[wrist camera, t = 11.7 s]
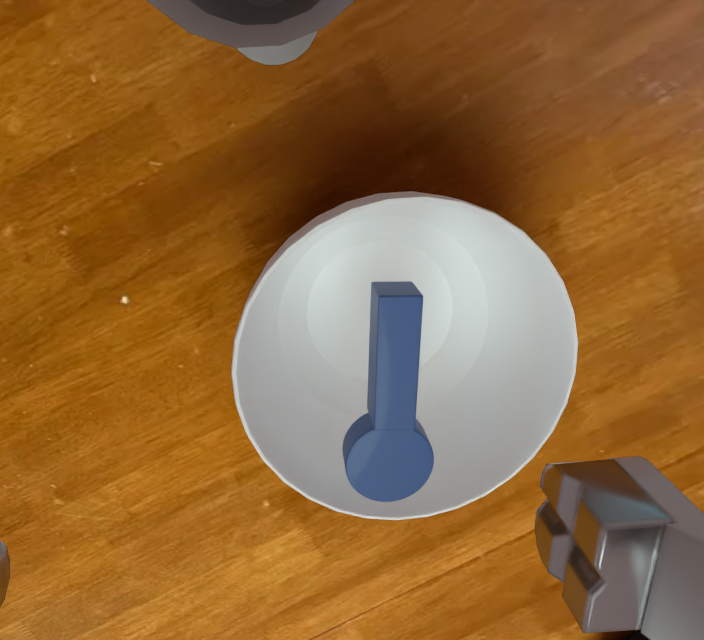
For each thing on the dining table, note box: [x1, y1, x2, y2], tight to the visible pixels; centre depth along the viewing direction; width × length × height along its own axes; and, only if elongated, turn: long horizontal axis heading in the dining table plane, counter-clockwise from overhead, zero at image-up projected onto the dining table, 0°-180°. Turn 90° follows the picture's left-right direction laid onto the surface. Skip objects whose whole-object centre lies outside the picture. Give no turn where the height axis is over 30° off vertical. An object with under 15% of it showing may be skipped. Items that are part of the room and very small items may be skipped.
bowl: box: [231, 191, 578, 520], centre depth 31 cm, size 16×16×10 cm
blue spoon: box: [342, 281, 434, 502], centre depth 26 cm, size 10×4×2 cm, turn 179°
